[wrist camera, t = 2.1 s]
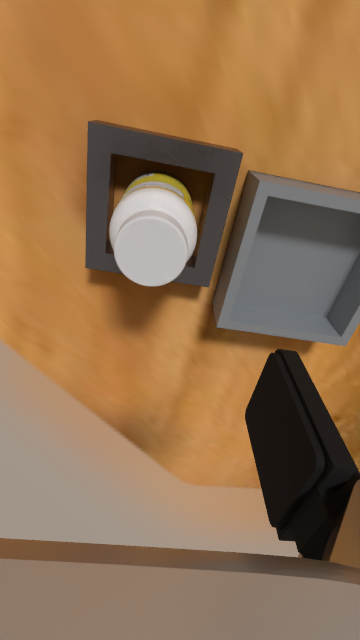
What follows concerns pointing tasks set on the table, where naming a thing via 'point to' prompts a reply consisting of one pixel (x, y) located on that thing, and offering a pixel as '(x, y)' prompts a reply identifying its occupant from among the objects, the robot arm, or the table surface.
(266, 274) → the tray
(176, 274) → the supplement bottle
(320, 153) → the table surface
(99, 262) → the socket collar
